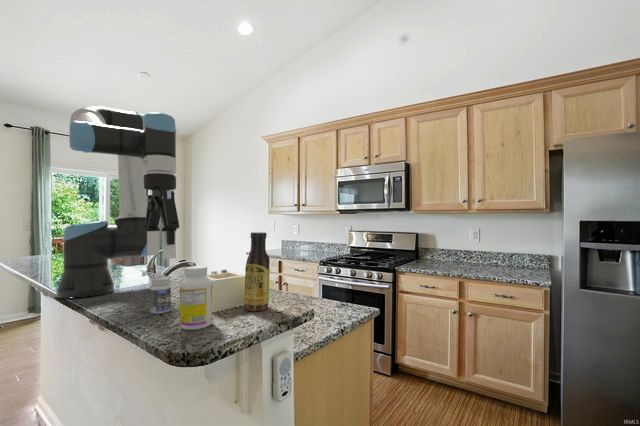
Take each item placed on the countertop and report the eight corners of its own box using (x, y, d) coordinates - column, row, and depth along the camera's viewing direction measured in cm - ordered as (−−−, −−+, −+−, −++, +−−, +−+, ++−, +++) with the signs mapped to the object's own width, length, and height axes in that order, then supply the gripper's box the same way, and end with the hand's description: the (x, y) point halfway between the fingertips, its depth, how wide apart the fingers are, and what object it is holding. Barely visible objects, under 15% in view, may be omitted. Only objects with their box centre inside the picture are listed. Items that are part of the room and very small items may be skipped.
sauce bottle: (239, 311, 81) (239, 232, 82) (252, 305, 87) (251, 231, 88) (263, 313, 79) (262, 232, 80) (274, 306, 85) (273, 231, 86)
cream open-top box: (194, 303, 89) (194, 272, 90) (227, 297, 96) (227, 268, 96) (212, 312, 81) (212, 278, 81) (248, 305, 87) (248, 273, 87)
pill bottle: (159, 314, 79) (159, 280, 80) (146, 312, 81) (145, 279, 82) (175, 309, 84) (174, 277, 84) (162, 308, 86) (162, 276, 86)
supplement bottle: (195, 319, 75) (195, 264, 75) (218, 322, 73) (218, 265, 73) (172, 329, 69) (172, 268, 69) (197, 332, 66) (197, 270, 67)
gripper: (132, 178, 90) (132, 255, 89) (159, 165, 72) (160, 261, 71) (160, 180, 95) (161, 252, 94) (193, 169, 77) (194, 258, 76)
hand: (160, 256), depth 83 cm, fingers open, 13 cm apart
